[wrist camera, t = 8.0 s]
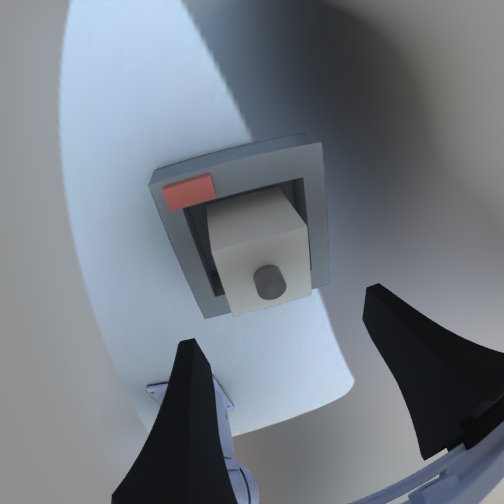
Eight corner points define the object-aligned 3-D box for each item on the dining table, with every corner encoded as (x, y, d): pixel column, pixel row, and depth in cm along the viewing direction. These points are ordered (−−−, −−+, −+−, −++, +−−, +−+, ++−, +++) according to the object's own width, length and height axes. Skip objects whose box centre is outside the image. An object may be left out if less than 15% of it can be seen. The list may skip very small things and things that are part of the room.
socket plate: (316, 262, 21) (332, 288, 19) (202, 294, 21) (205, 324, 19) (304, 132, 15) (325, 144, 13) (154, 170, 15) (147, 189, 13)
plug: (286, 246, 20) (317, 307, 15) (223, 263, 19) (236, 330, 14) (278, 186, 17) (315, 237, 12) (205, 204, 17) (212, 264, 12)
